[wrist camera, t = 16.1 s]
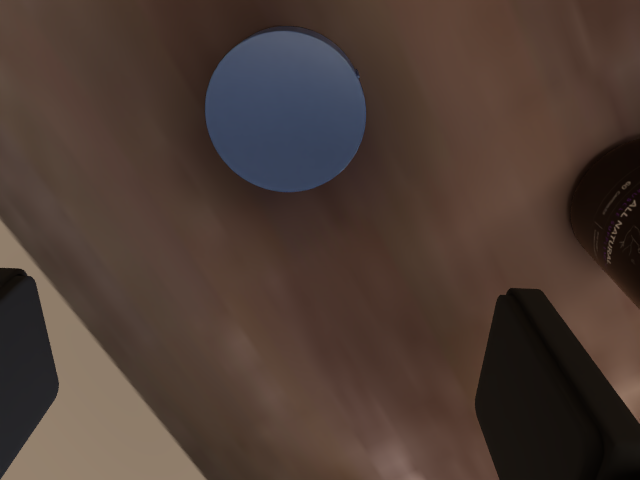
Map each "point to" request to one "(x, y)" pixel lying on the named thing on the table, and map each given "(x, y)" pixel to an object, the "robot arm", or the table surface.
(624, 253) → the supplement bottle
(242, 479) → the table surface
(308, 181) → the lid
